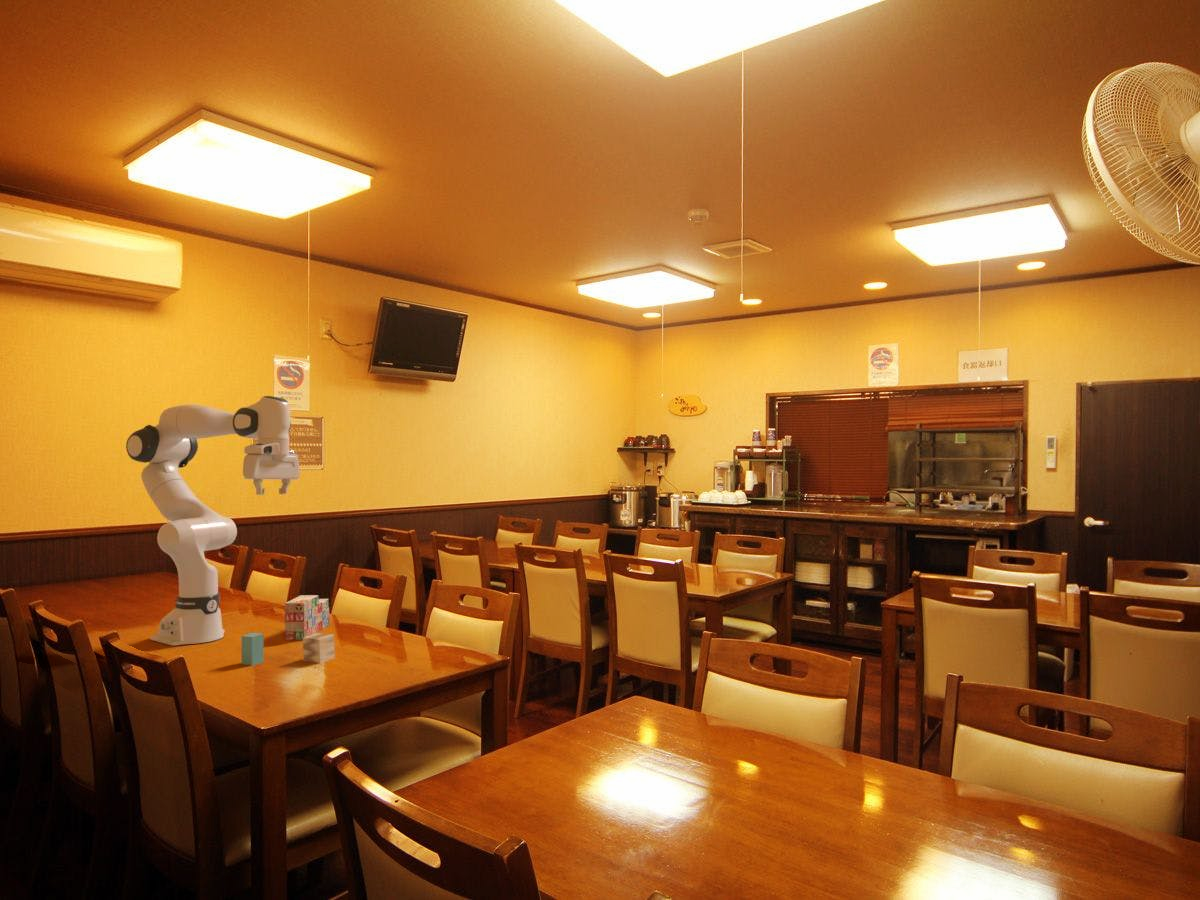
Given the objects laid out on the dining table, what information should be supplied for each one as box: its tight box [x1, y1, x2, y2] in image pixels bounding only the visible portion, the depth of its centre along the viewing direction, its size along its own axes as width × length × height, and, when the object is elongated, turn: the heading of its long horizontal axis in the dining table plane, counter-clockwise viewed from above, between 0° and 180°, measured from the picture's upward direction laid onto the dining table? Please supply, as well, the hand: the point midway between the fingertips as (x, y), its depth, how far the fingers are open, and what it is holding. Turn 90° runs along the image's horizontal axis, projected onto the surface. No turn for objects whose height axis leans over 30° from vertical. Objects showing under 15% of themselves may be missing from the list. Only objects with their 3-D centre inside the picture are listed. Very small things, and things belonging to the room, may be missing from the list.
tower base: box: [303, 646, 336, 664], centre depth 218 cm, size 6×6×4 cm
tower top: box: [302, 632, 335, 652], centre depth 218 cm, size 6×6×4 cm
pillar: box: [241, 632, 264, 667], centre depth 214 cm, size 4×4×8 cm
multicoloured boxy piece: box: [284, 594, 330, 641], centre depth 251 cm, size 21×6×12 cm, turn 179°
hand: (271, 494), depth 230 cm, fingers open, 8 cm apart
